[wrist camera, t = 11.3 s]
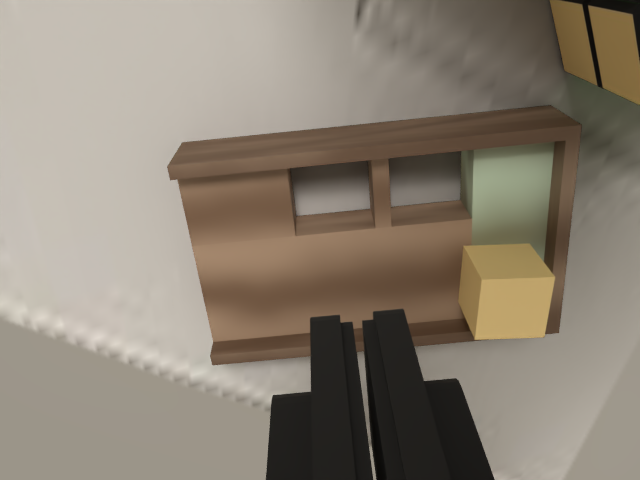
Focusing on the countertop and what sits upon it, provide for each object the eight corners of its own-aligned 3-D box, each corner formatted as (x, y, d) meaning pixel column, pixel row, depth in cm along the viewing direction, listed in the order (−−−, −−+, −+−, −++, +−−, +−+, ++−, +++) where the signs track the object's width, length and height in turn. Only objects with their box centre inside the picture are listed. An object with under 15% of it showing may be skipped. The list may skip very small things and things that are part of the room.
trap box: (182, 142, 36) (167, 166, 32) (550, 105, 36) (581, 125, 32) (220, 325, 42) (212, 365, 38) (534, 296, 42) (558, 332, 38)
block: (463, 245, 37) (481, 279, 33) (529, 243, 37) (555, 277, 33) (458, 301, 38) (474, 339, 35) (520, 299, 39) (544, 337, 35)
